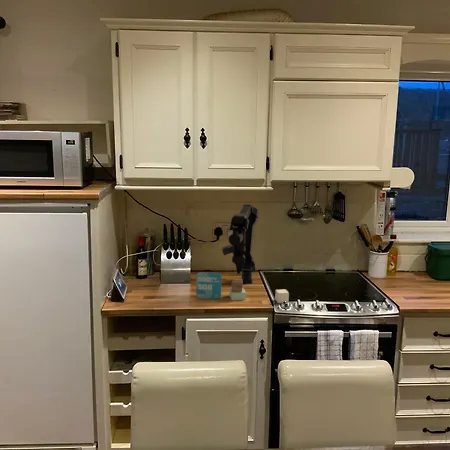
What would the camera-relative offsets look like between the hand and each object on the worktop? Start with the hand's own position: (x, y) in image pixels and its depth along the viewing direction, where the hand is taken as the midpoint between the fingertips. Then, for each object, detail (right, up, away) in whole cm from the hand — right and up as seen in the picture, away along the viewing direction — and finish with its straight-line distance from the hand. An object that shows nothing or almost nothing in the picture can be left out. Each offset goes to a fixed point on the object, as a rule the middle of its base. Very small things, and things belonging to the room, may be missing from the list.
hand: (238, 270), depth 233 cm
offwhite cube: (+21, -14, -8) cm, 26 cm away
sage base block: (-1, -13, -5) cm, 14 cm away
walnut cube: (-1, -9, -6) cm, 11 cm away
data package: (-15, -13, -5) cm, 20 cm away
